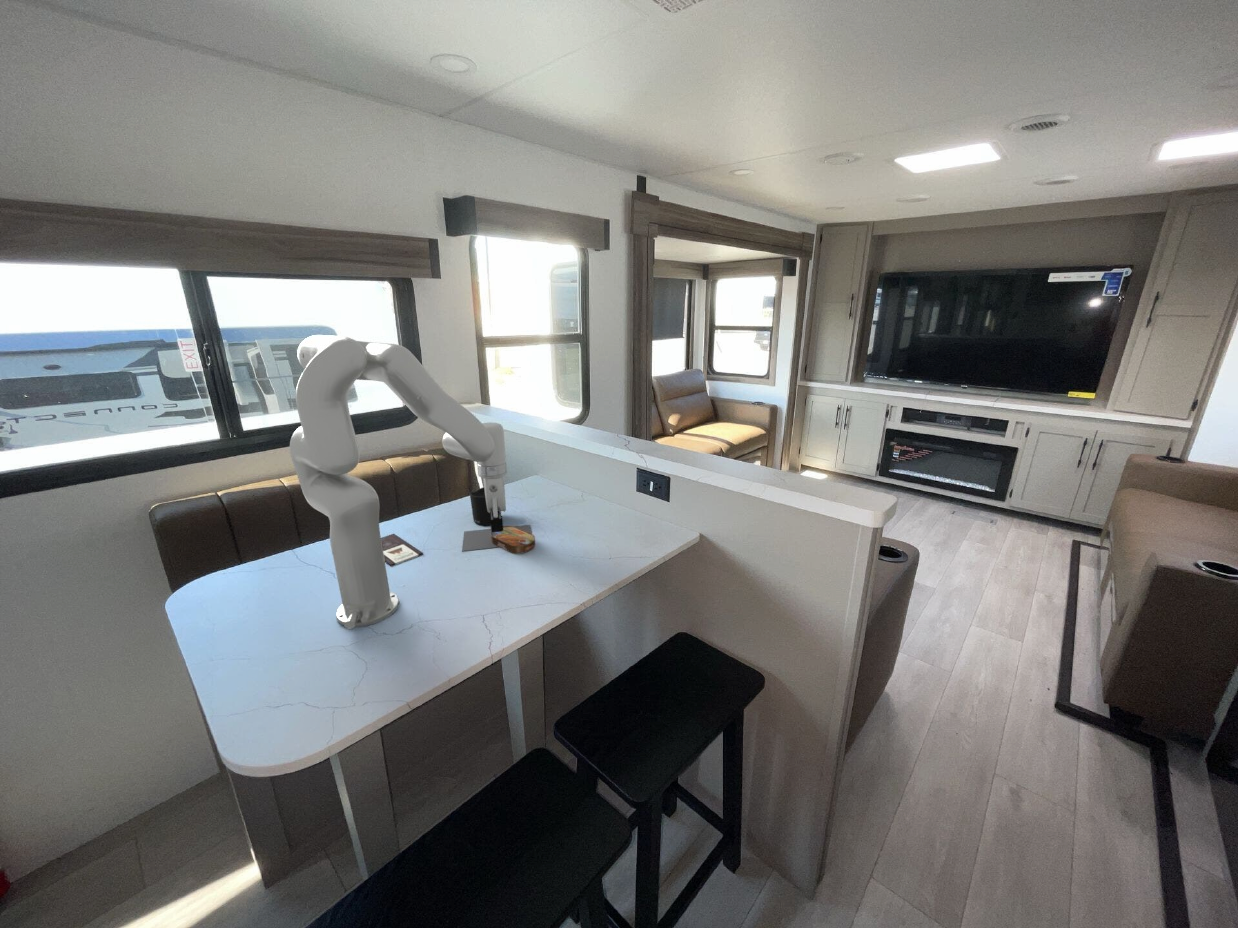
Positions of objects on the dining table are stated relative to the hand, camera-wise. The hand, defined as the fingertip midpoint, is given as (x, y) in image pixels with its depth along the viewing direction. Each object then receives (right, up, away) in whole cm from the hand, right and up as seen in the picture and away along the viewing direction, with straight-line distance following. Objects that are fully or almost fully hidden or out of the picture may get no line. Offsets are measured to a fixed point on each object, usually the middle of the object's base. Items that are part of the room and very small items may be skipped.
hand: (497, 530), depth 135 cm
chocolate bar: (-30, -6, +1) cm, 31 cm away
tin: (+1, -4, +1) cm, 5 cm away
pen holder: (-8, 0, +20) cm, 22 cm away
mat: (-2, -3, +9) cm, 9 cm away
